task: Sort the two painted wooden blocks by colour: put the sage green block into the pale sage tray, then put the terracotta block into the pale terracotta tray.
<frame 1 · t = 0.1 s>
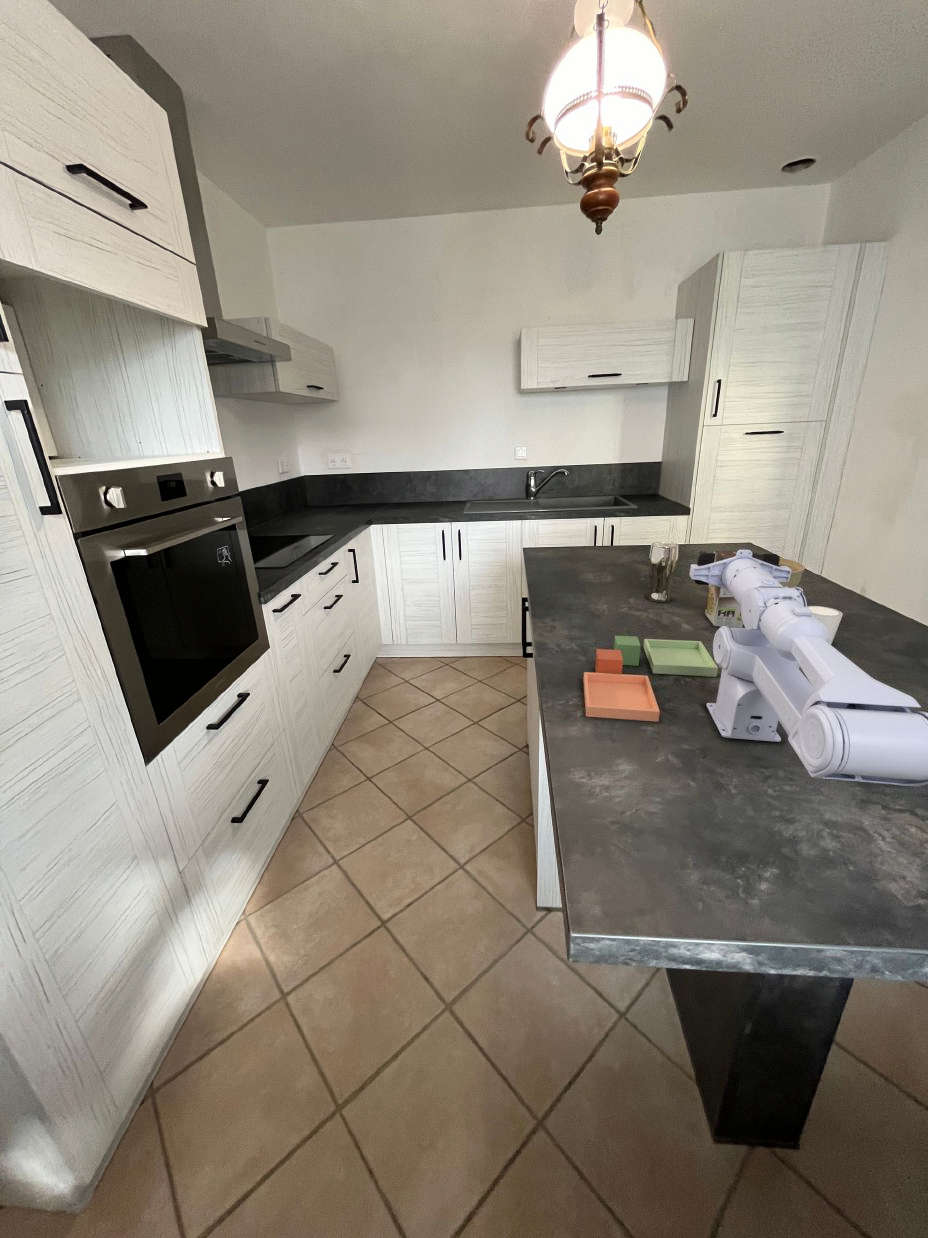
hand: (724, 557, 86), 22 cm above the countertop, tool horizontal, fingers open, 7 cm apart
terracotta tray: (618, 699, 84), on the countertop
planter bowl: (758, 604, 126), on the countertop
white cup: (814, 642, 103), on the countertop
coffee box: (722, 621, 116), on the countertop
sage tray: (677, 660, 97), on the countertop
beer glass: (658, 599, 132), on the countertop
sage block: (625, 660, 98), on the countertop
terracotta block: (607, 675, 92), on the countertop
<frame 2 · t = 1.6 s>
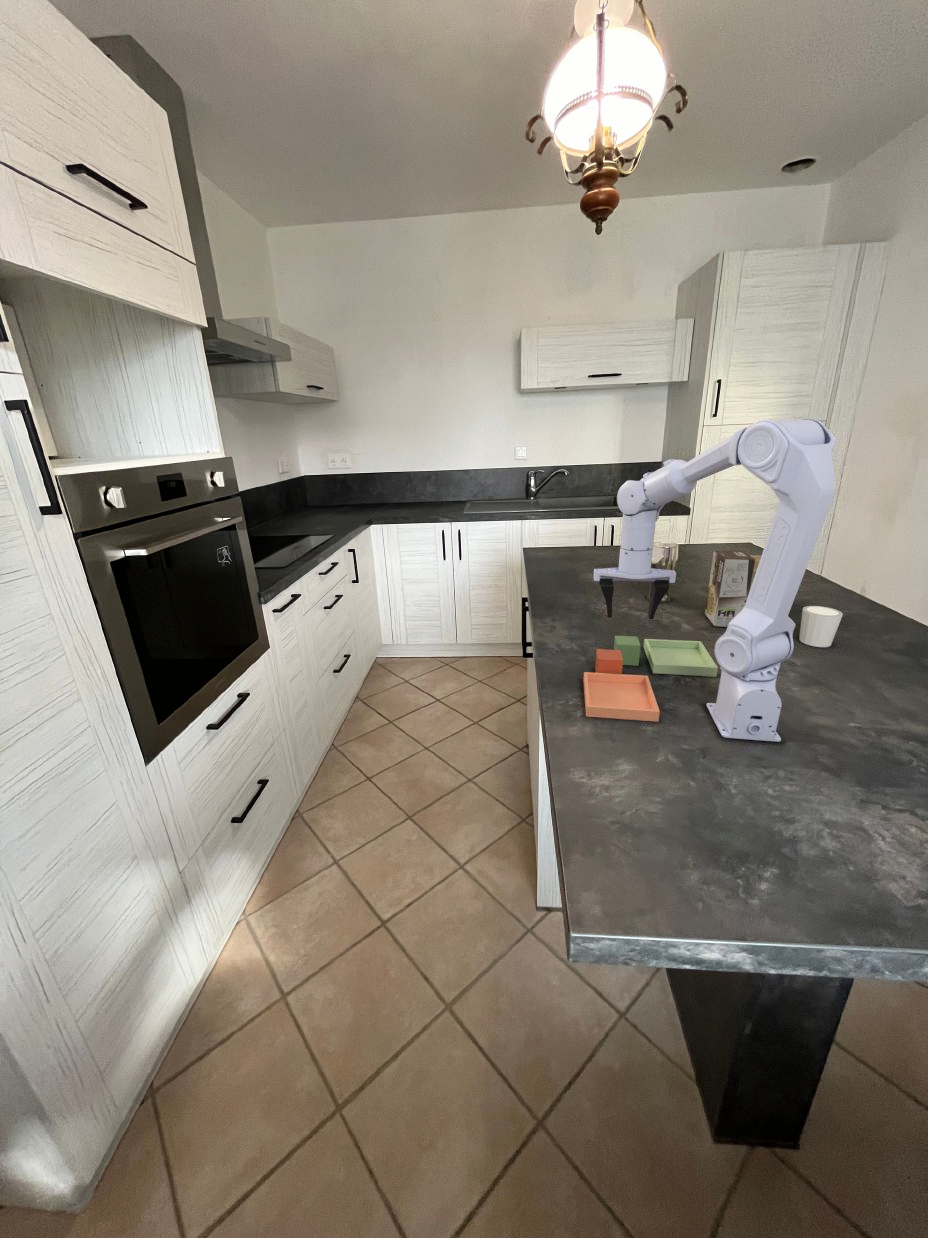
hand: (629, 616, 94), 9 cm above the countertop, tool pointing down, fingers open, 7 cm apart
nothing on the countertop moved.
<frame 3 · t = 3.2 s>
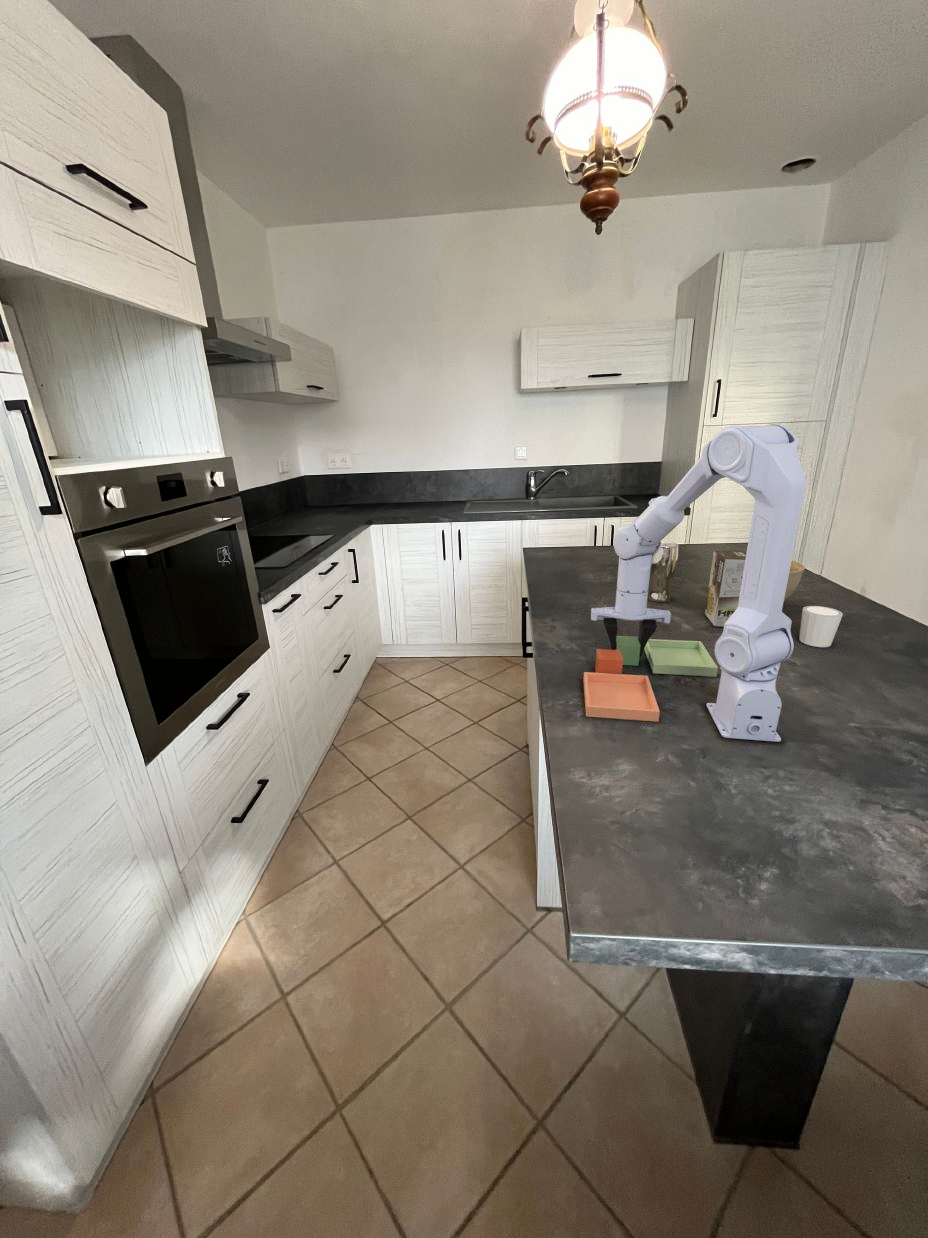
hand: (626, 654, 97), 1 cm above the countertop, tool pointing down, fingers closed on sage block, 4 cm apart
sage block: (625, 660, 98), on the countertop, touching gripper
everything else where it was.
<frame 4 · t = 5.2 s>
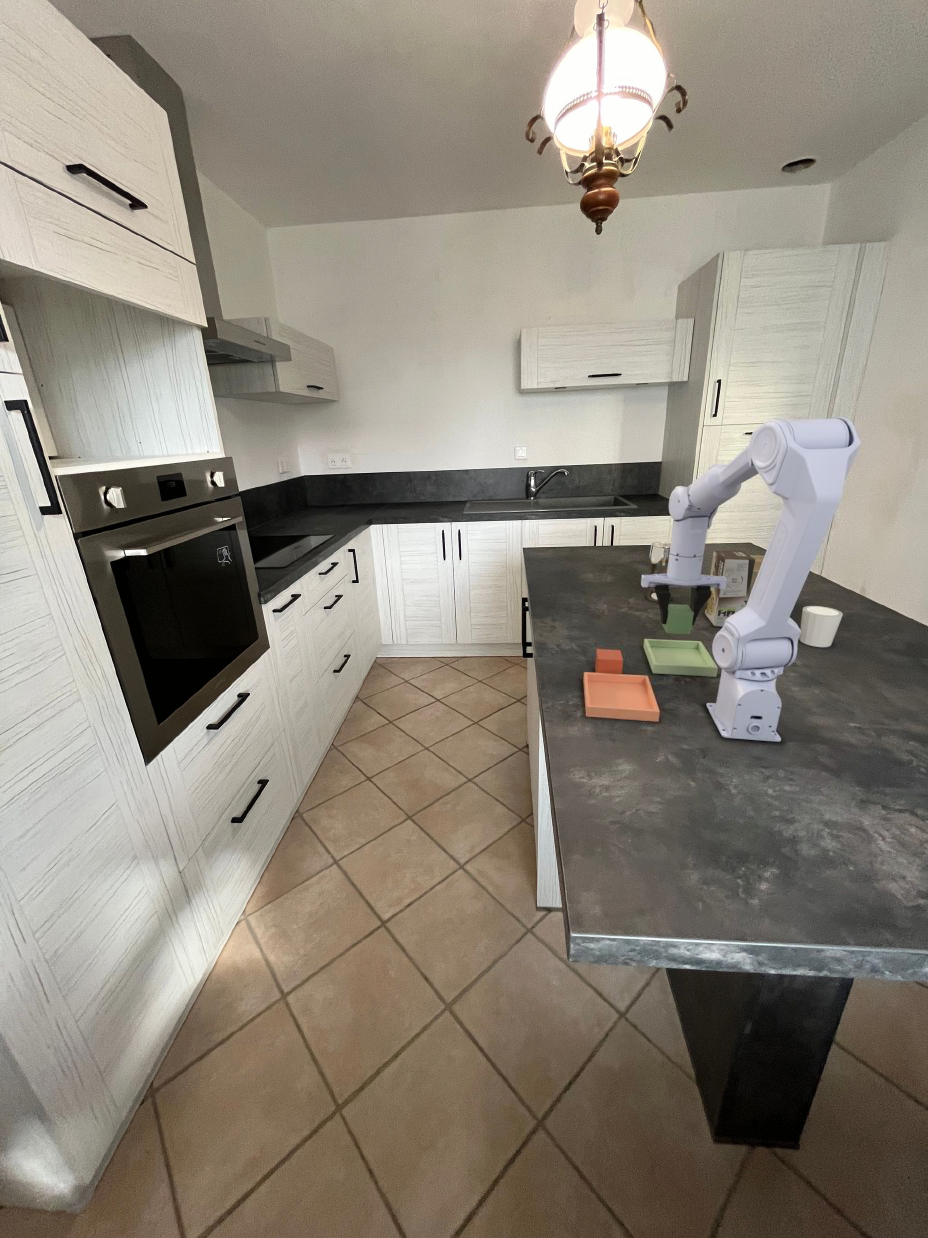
hand: (677, 622, 94), 8 cm above the countertop, tool pointing down, fingers closed on sage block, 4 cm apart
sage block: (676, 629, 94), point 7 cm above the countertop, touching gripper
everything else where it was.
when the fingers open (2 cm above the countertop, at t = 7.3 s): sage block stays where it is, resting on sage tray.
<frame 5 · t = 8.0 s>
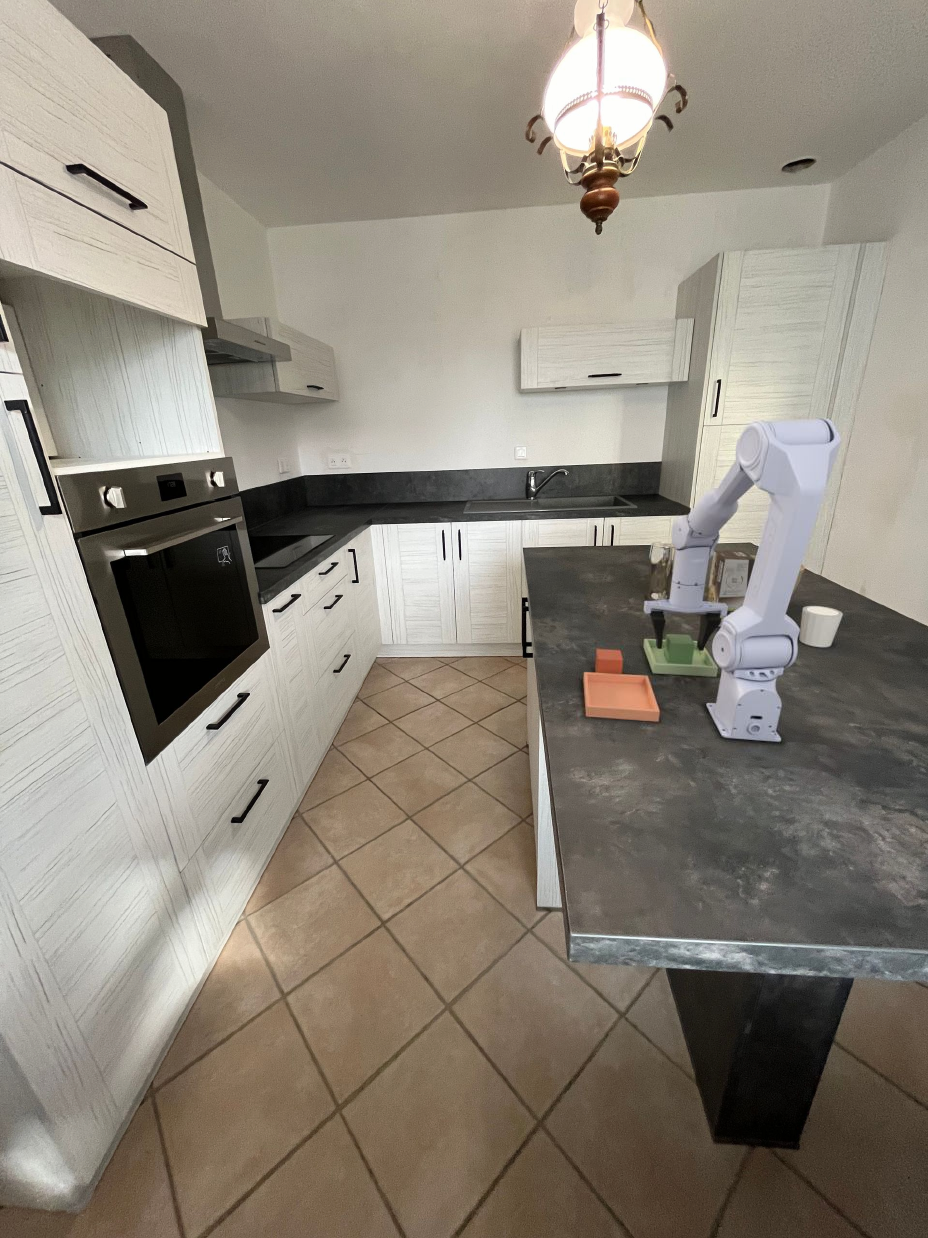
hand: (679, 647, 96), 3 cm above the countertop, tool pointing down, fingers open, 7 cm apart
sage block: (677, 658, 97), resting on sage tray
everything else where it was.
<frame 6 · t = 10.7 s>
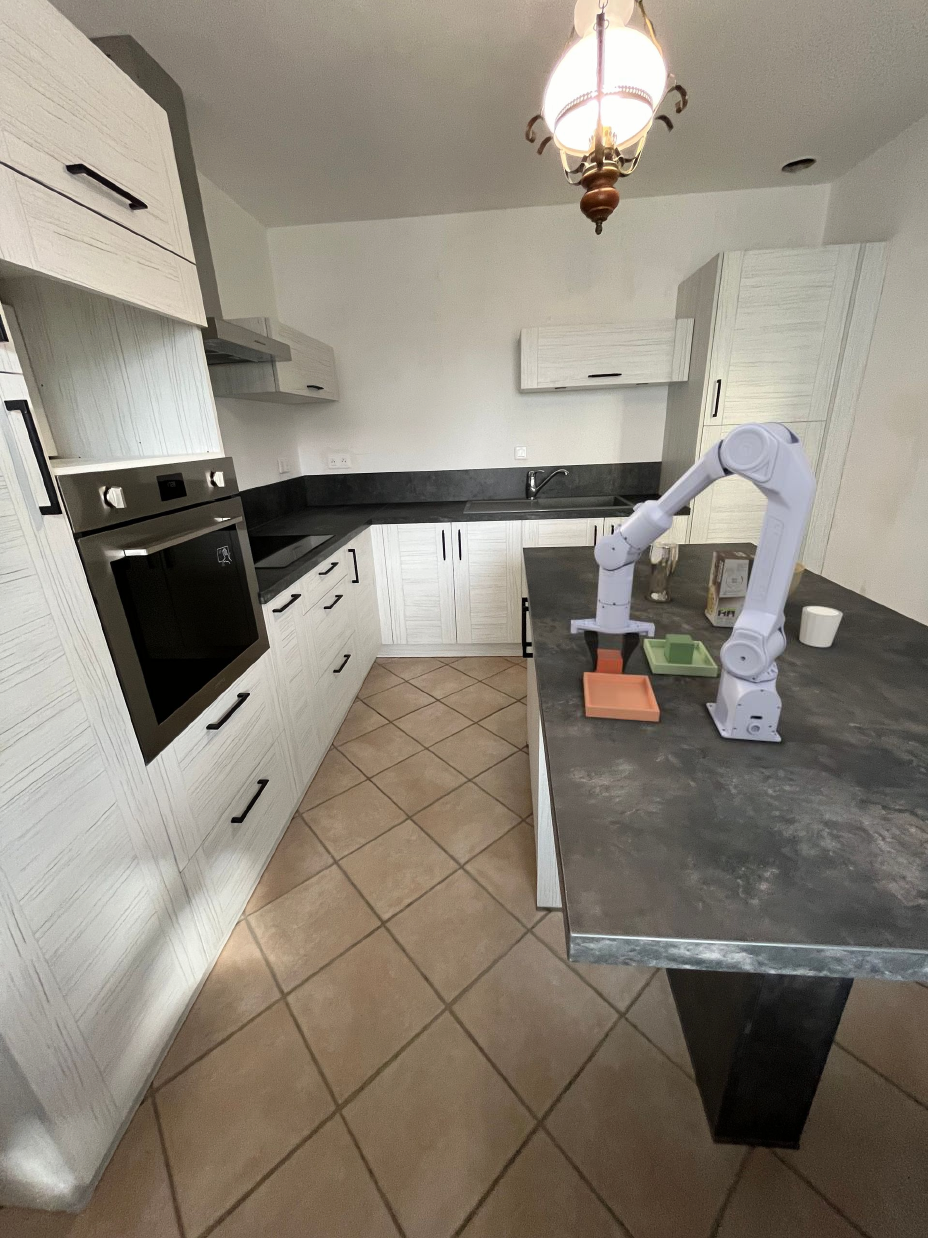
hand: (608, 668, 92), 1 cm above the countertop, tool pointing down, fingers closed on terracotta block, 4 cm apart
terracotta block: (607, 675, 92), on the countertop, touching gripper
everything else where it was.
when the fingers open (2 cm above the countertop, at t = 14.7 s): terracotta block stays where it is, resting on terracotta tray.
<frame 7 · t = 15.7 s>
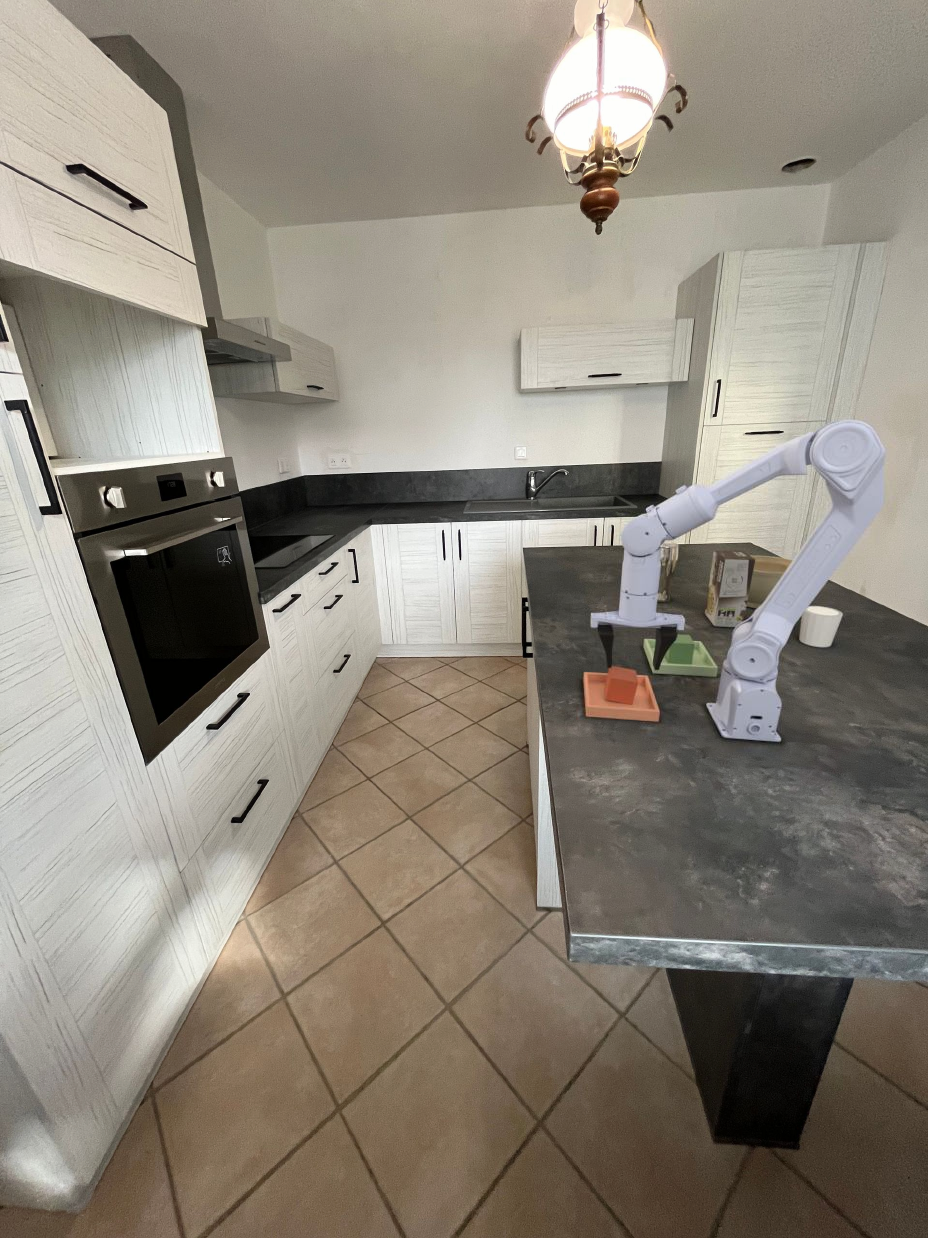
hand: (632, 666, 83), 6 cm above the countertop, tool pointing down, fingers open, 7 cm apart
terracotta block: (618, 695, 84), point 1 cm above the countertop, tilted 8°, touching terracotta tray
everything else where it was.
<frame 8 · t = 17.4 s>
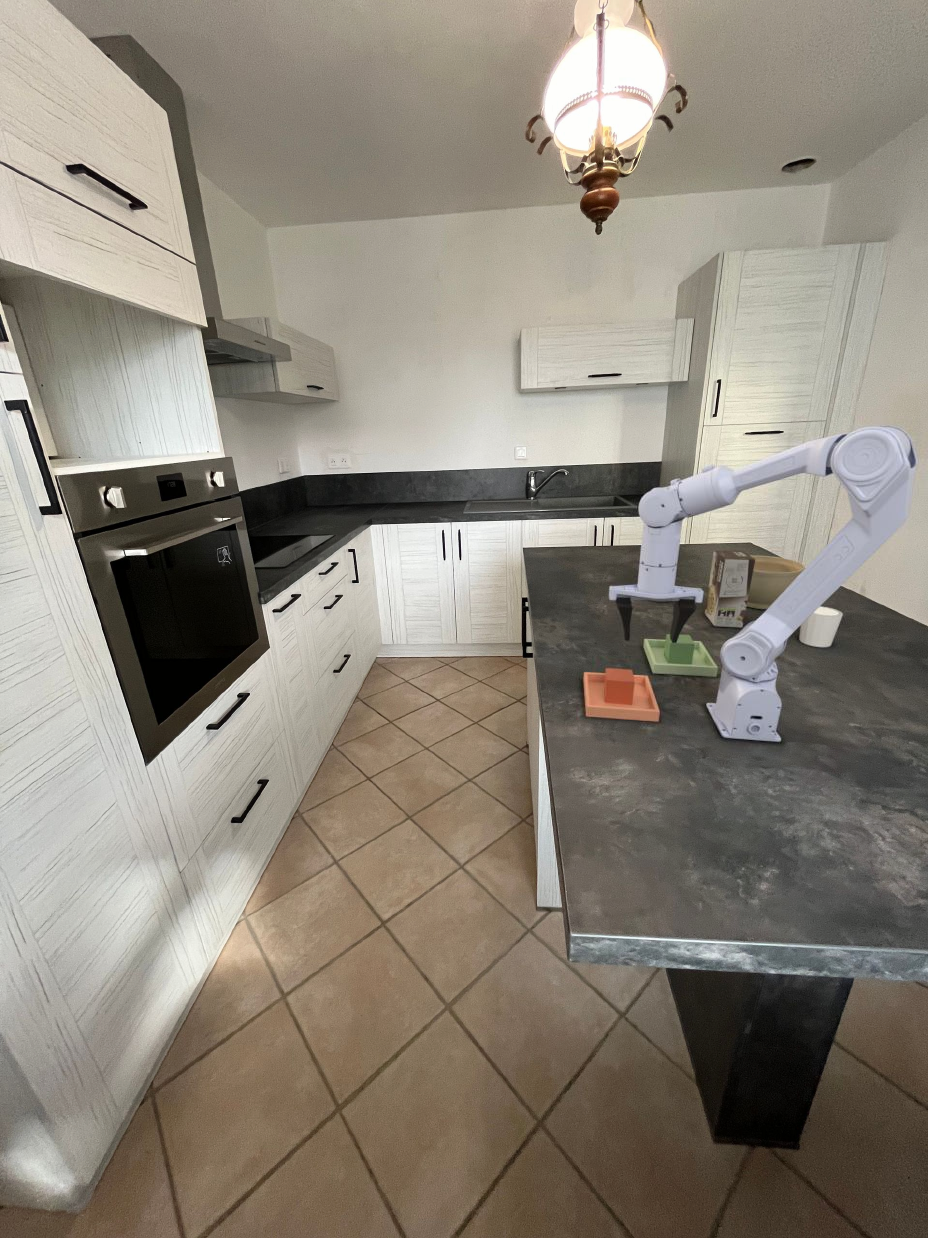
hand: (649, 639, 84), 9 cm above the countertop, tool pointing down, fingers open, 7 cm apart
terracotta block: (617, 697, 84), resting on terracotta tray
everything else where it was.
at the end: sage block inside the target area in the sage tray (0.1 cm from its centre), point 0.4 cm above the sage tray's base; terracotta block inside the target area in the terracotta tray (0.1 cm from its centre), point 0.4 cm above the terracotta tray's base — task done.
